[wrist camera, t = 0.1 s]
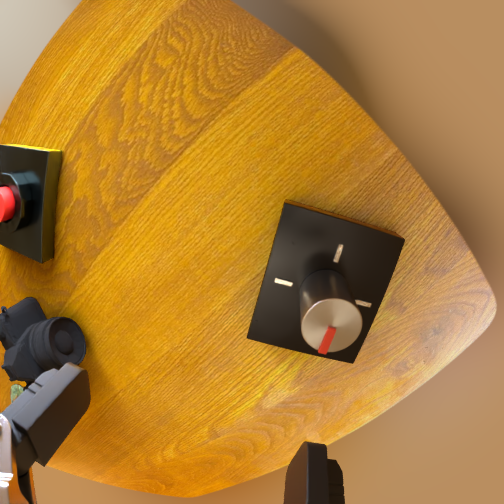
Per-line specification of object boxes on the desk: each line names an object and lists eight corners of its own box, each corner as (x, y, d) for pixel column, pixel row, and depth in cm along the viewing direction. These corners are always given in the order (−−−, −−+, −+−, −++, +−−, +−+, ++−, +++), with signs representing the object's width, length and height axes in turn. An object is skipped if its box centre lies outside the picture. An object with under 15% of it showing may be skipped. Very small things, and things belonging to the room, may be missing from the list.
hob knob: (308, 263, 24) (312, 293, 18) (356, 276, 23) (373, 309, 18) (293, 308, 25) (292, 347, 19) (339, 320, 25) (349, 360, 19)
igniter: (10, 143, 27) (-13, 144, 23) (62, 150, 26) (37, 151, 22) (4, 236, 30) (-17, 244, 26) (54, 258, 30) (31, 269, 26)
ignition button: (-1, 184, 24) (-12, 186, 23) (16, 189, 24) (5, 191, 22) (-2, 215, 25) (-13, 219, 24) (15, 222, 25) (4, 226, 23)
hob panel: (285, 198, 25) (284, 202, 22) (396, 232, 24) (406, 239, 22) (250, 324, 29) (246, 339, 26) (349, 349, 28) (353, 365, 25)
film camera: (117, 383, 33) (83, 430, 25) (73, 388, 35) (40, 426, 27) (56, 275, 30) (3, 305, 22) (19, 295, 32) (-26, 323, 24)
